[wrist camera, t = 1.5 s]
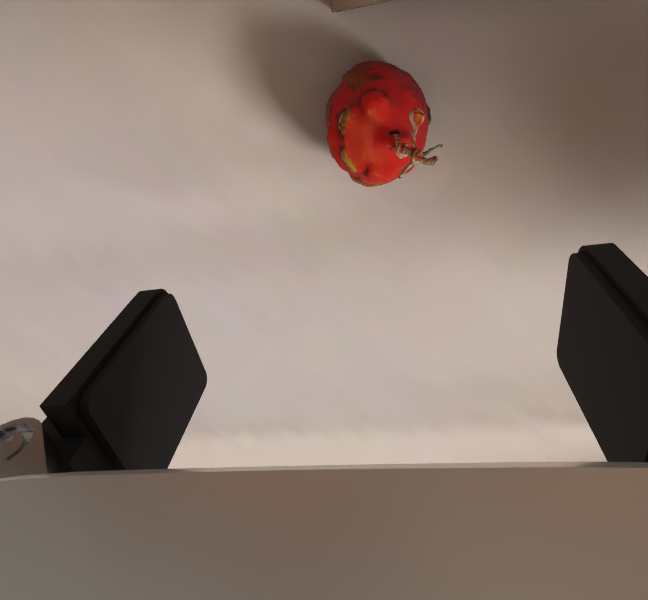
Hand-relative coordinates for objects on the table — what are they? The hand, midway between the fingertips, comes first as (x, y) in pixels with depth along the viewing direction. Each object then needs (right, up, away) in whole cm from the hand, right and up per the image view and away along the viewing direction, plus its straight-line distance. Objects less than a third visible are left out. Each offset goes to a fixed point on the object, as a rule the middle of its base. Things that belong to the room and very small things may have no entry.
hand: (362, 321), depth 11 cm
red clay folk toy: (+3, +14, +22) cm, 26 cm away
